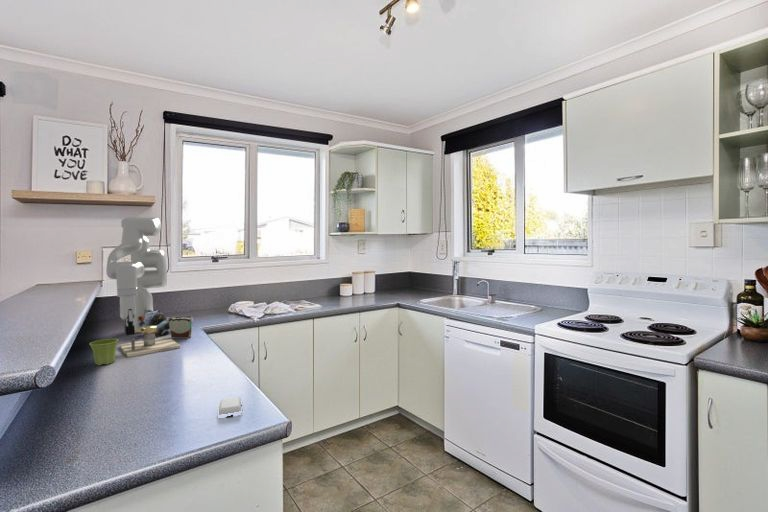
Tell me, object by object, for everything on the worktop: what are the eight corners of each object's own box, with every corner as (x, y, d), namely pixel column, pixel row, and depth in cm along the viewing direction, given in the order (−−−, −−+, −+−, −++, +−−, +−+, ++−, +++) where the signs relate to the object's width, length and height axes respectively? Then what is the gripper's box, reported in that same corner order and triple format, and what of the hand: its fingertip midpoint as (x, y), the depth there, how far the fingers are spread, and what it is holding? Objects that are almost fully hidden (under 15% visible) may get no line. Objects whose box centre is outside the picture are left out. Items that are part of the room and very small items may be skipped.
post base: (119, 347, 182) (119, 331, 182) (168, 339, 195) (168, 324, 195) (127, 357, 167) (126, 340, 167) (180, 347, 180) (179, 332, 180)
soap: (218, 407, 118) (218, 397, 118) (243, 404, 120) (242, 394, 120) (216, 420, 110) (216, 410, 110) (243, 416, 112) (242, 406, 112)
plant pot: (85, 365, 158) (84, 343, 157) (111, 358, 166) (110, 337, 166) (98, 368, 153) (97, 346, 153) (124, 361, 162) (123, 340, 161)
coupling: (124, 336, 172) (123, 322, 172) (125, 332, 180) (124, 318, 180) (157, 332, 179) (156, 319, 178) (156, 328, 186) (156, 315, 186)
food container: (199, 335, 203) (198, 315, 203) (192, 338, 197) (191, 317, 196) (175, 334, 204) (175, 315, 204) (168, 337, 198) (167, 317, 198)
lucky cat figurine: (158, 337, 198) (141, 313, 196) (144, 344, 204) (128, 321, 202) (181, 322, 212) (166, 300, 210) (168, 329, 217) (153, 307, 215)
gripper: (114, 290, 180) (116, 331, 181) (119, 295, 167) (122, 339, 168) (134, 289, 184) (136, 328, 186) (140, 293, 172) (143, 336, 173)
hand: (129, 333), depth 177 cm, fingers open, 3 cm apart
